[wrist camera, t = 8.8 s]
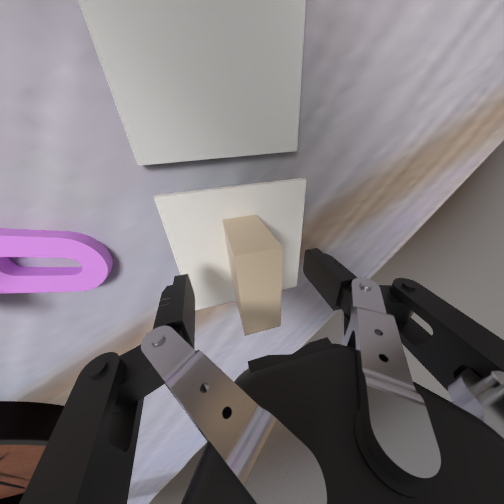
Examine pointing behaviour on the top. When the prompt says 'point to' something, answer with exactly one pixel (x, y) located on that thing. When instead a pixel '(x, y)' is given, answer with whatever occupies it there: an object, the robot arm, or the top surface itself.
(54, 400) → the top surface
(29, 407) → the wall clock
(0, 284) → the bracket
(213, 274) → the cover
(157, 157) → the mat
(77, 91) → the top surface
